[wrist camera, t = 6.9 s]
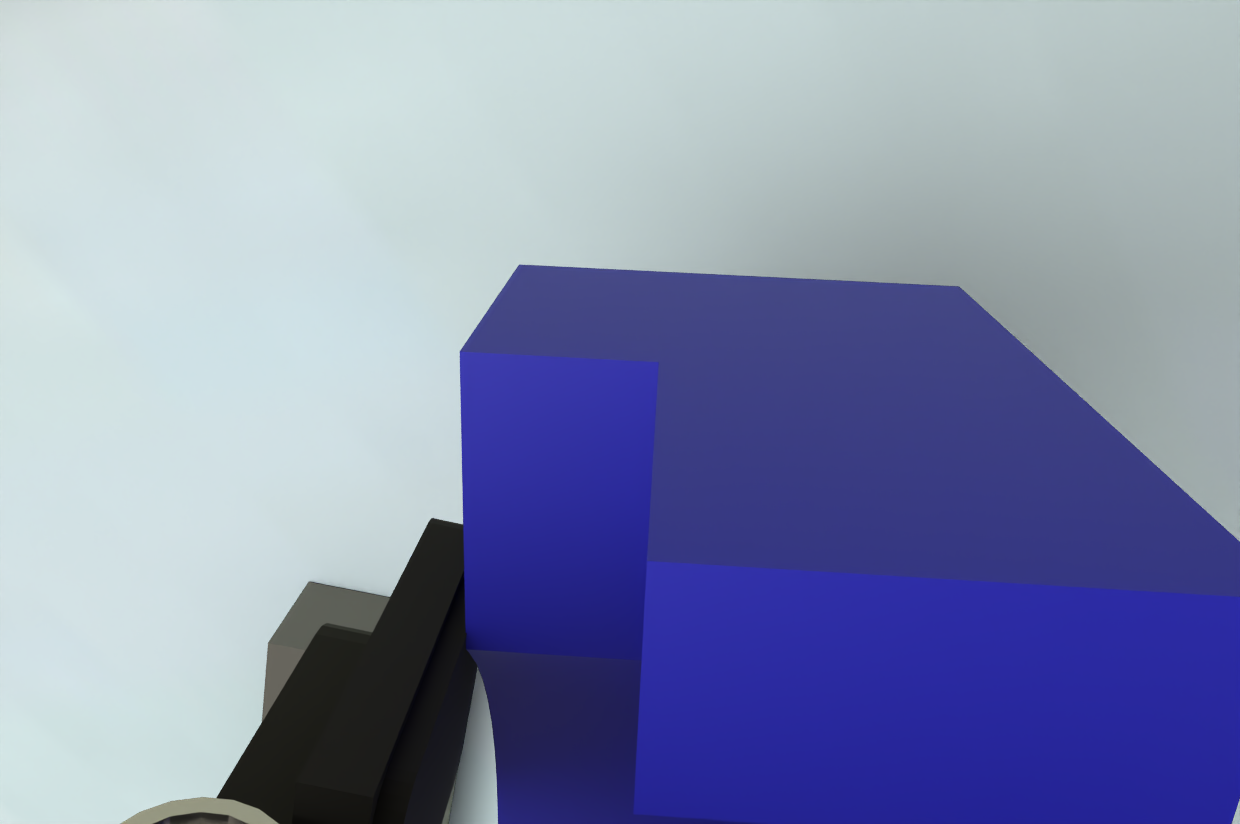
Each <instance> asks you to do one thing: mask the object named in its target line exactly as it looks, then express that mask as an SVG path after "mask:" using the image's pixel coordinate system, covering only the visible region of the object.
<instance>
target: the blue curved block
mask: <svg viewBox="0 0 1240 824" xmlns="http://www.w3.org/2000/svg"><path fill="white" fill-rule="evenodd" d="M460 386H461V434H462V482H463V531H464V579H465V628H466V633H467V636H466V650H467V651H468V652H469V653H470V655H471V656H472V658H473V659H474V661H475V662H476V664H477V666H478V669H479V671H480V674H481V676H482V679H483V682H484V686H485V690H486V694H487V698H488V703H489V709H490V715H491V721H492V728H493V737H494V746H495V759H496V774H497V798H498V824H1232V821H1233V818H1234V815H1235V812H1236V809H1237V805H1238V802H1239V799H1240V542H1239V541H1238V540H1237V539H1236V538H1235V537H1234V536H1233V535H1232V534H1231V533H1229V532H1228V531H1227V530H1226V529H1225V528H1224V527H1223V526H1222V525H1221V524H1220V523H1218V522H1217V521H1216V520H1215V519H1214V518H1213V517H1212V516H1211V515H1210V514H1209V513H1207V512H1206V511H1205V510H1204V509H1203V508H1202V507H1201V506H1200V505H1199V504H1198V503H1196V502H1195V501H1194V500H1193V499H1192V498H1191V497H1190V496H1189V495H1188V494H1187V493H1185V492H1184V491H1183V490H1182V489H1181V488H1180V487H1179V486H1178V485H1177V484H1176V483H1174V482H1173V481H1172V480H1171V479H1170V478H1169V477H1168V476H1167V475H1166V474H1165V473H1163V472H1162V471H1161V470H1160V469H1159V468H1158V467H1157V466H1156V465H1155V464H1154V463H1152V462H1151V461H1150V460H1149V459H1148V458H1147V457H1146V456H1145V455H1144V454H1143V453H1142V452H1140V451H1139V450H1138V449H1137V448H1136V447H1135V446H1134V445H1133V444H1132V443H1131V442H1129V441H1128V440H1127V439H1126V438H1125V437H1124V436H1123V435H1122V434H1121V433H1120V432H1118V431H1117V430H1116V429H1115V428H1114V427H1113V426H1112V425H1111V424H1110V423H1109V422H1107V421H1106V420H1105V419H1104V418H1103V417H1102V416H1101V415H1100V414H1099V413H1098V412H1096V411H1095V410H1094V409H1093V408H1092V407H1091V406H1090V405H1089V404H1088V403H1087V402H1085V401H1084V400H1083V399H1082V398H1081V397H1080V396H1079V395H1078V394H1077V393H1076V392H1074V391H1073V390H1072V389H1071V388H1070V387H1069V386H1068V385H1067V384H1066V383H1065V382H1063V381H1062V380H1061V379H1060V378H1059V377H1058V376H1057V375H1056V374H1055V373H1054V372H1052V371H1051V370H1050V369H1049V368H1048V367H1047V366H1046V365H1045V364H1044V363H1043V362H1041V361H1040V360H1039V359H1038V358H1037V357H1036V356H1035V355H1034V354H1033V353H1032V352H1030V351H1029V350H1028V349H1027V348H1026V347H1025V346H1024V345H1023V344H1022V343H1021V342H1019V341H1018V340H1017V339H1016V338H1015V337H1014V336H1013V335H1012V334H1011V333H1010V332H1008V331H1007V330H1006V329H1005V328H1004V327H1003V326H1002V325H1001V324H1000V323H999V322H997V321H996V320H995V319H994V318H993V317H992V316H991V315H990V314H989V313H988V312H986V311H985V310H984V309H983V308H982V307H981V306H980V305H979V304H978V303H977V302H975V301H974V300H973V299H972V298H971V297H970V296H969V295H968V294H967V293H966V292H964V291H963V290H962V289H961V288H960V287H958V286H938V285H918V284H898V283H878V282H857V281H837V280H817V279H797V278H777V277H757V276H737V275H716V274H696V273H676V272H656V271H636V270H616V269H595V268H575V267H555V266H535V265H519V266H518V267H517V269H516V270H515V272H514V273H513V274H512V276H511V277H510V279H509V280H508V282H507V283H506V285H505V286H504V288H503V289H502V291H501V292H500V294H499V295H498V296H497V298H496V299H495V301H494V302H493V304H492V305H491V307H490V308H489V310H488V311H487V313H486V314H485V315H484V317H483V318H482V320H481V321H480V323H479V324H478V326H477V327H476V329H475V330H474V332H473V333H472V334H471V336H470V337H469V339H468V340H467V342H466V343H465V345H464V346H463V348H462V349H461V351H460Z"/></svg>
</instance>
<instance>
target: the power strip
mask: <svg viewBox="0 0 1240 824" xmlns="http://www.w3.org/2000/svg"><path fill="white" fill-rule="evenodd" d="M389 599H390V598H389V597H384V596H378V595H373V594H368V593H363V592H358V591H353V590H348V589H343V588H338V587H332V586H327V585H322V584H317V583H312V582H308V584H307V585H306V587H305V588H304V590H303V591H302V593H301V594H300V596H299V597H298V599H297V600H296V602H295V603H294V605H293V606H292V608H291V609H290V611H289V612H288V614H287V615H286V617H285V618H284V620H283V621H282V623H281V624H280V626H279V627H278V629H277V630H276V632H275V633H274V635H273V636H272V638H271V639H270V641H269V642H268V652H267V665H266V677H265V690H264V703H263V715H262V722H263V720H264V718H265V717H266V715H267V713H268V712H269V710H270V708H271V707H272V705H273V703H274V702H275V700H276V698H277V697H278V695H279V693H280V692H281V690H282V688H283V687H284V685H285V684H286V682H287V680H288V679H289V677H290V675H291V674H292V672H293V670H294V669H295V667H296V665H297V664H298V662H299V660H300V659H301V657H302V655H303V654H304V652H305V650H306V649H307V647H308V645H309V644H310V642H311V640H312V639H313V637H314V635H315V634H316V633H317V631H318V630H319V629H320V627H321V626H322V625H324V624H326V623H330V624H335V625H339V626H344V627H349V628H354V629H359V630H364V631H368V632H373V630H374V628H375V626H376V624H377V622H378V621H379V619H380V617H381V615H382V613H383V611H384V609H385V607H386V605H387V603H388V601H389ZM456 776H457V774H456ZM455 782H456V778H455V781H454V785H453V788H452V792H451V795H450V798H449V802H448V805H447V808H446V812H445V815H444V818H443V822H442V824H448V823H449V817H450V811H451V805H452V799H453V794H454V788H455Z"/></svg>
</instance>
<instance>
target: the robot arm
mask: <svg viewBox="0 0 1240 824" xmlns="http://www.w3.org/2000/svg"><path fill="white" fill-rule="evenodd" d="M466 636H467V633H466V628H465V579H464V531H463V524H458V523H453V522H448V521H443V520H439V519H434V518H431V520H430V521H429V523H428V525H427V527H426V528H425V530H424V532H423V534H422V536H421V538H420V540H419V542H418V544H417V546H416V548H415V550H414V552H413V554H412V556H411V558H410V560H409V562H408V564H407V566H406V568H405V570H404V572H403V574H402V575H401V577H400V579H399V581H398V583H397V585H396V587H395V589H394V591H393V593H392V595H391V597H390V599H389V601H388V603H387V605H386V607H385V609H384V611H383V613H382V615H381V617H380V619H379V621H378V622H377V624H376V626H375V628H374V630H373V632H368V631H364V630H359V629H354V628H349V627H344V626H339V625H335V624H330V623H326V624H324V625H322V626H321V627H320V629H319V630H318V631H317V633H316V634H315V635H314V637H313V639H312V640H311V642H310V644H309V645H308V647H307V649H306V650H305V652H304V654H303V655H302V657H301V659H300V660H299V662H298V664H297V665H296V667H295V669H294V670H293V672H292V674H291V675H290V677H289V679H288V680H287V682H286V684H285V685H284V687H283V688H282V690H281V692H280V693H279V695H278V697H277V698H276V700H275V702H274V703H273V705H272V707H271V708H270V710H269V712H268V713H267V715H266V717H265V718H264V720H263V722H262V723H261V725H260V727H259V728H258V730H257V732H256V733H255V735H254V736H253V738H252V740H251V741H250V743H249V745H248V746H247V748H246V750H245V751H244V753H243V755H242V756H241V758H240V760H239V761H238V763H237V765H236V766H235V768H234V770H233V771H232V773H231V775H230V776H229V778H228V780H227V781H226V783H225V785H224V786H223V788H222V789H221V791H220V793H219V794H218V796H217V798H207V797H200V798H192V799H184V800H176V801H170V802H167V803H164V804H161V805H159V806H156V807H153V808H150V809H147V810H144V811H141V812H139V813H137V814H136V815H134V816H132V817H131V818H129V819H127V820H126V821H124V822H122V823H121V824H442V822H443V818H444V815H445V812H446V808H447V805H448V802H449V798H450V795H451V792H452V788H453V785H454V781H455V778H456V774H457V770H458V766H459V762H460V758H461V753H462V748H463V743H464V738H465V732H466V727H467V721H468V716H469V710H470V705H471V699H472V694H473V689H474V683H475V678H476V672H477V667H478V666H477V664H476V662H475V661H474V659H473V658H472V656H471V655H470V653H469V652H468V651H467V650H466Z"/></svg>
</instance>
